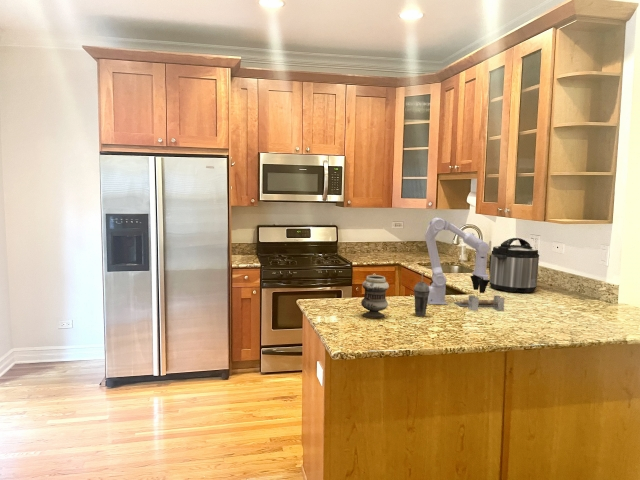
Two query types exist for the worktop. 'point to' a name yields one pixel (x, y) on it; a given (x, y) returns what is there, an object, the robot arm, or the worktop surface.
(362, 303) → the apothecary jar
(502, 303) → the hook stands
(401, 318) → the worktop surface
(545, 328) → the worktop surface
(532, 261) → the pressure cooker
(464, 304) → the mat
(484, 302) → the rail
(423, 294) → the beverage cup
